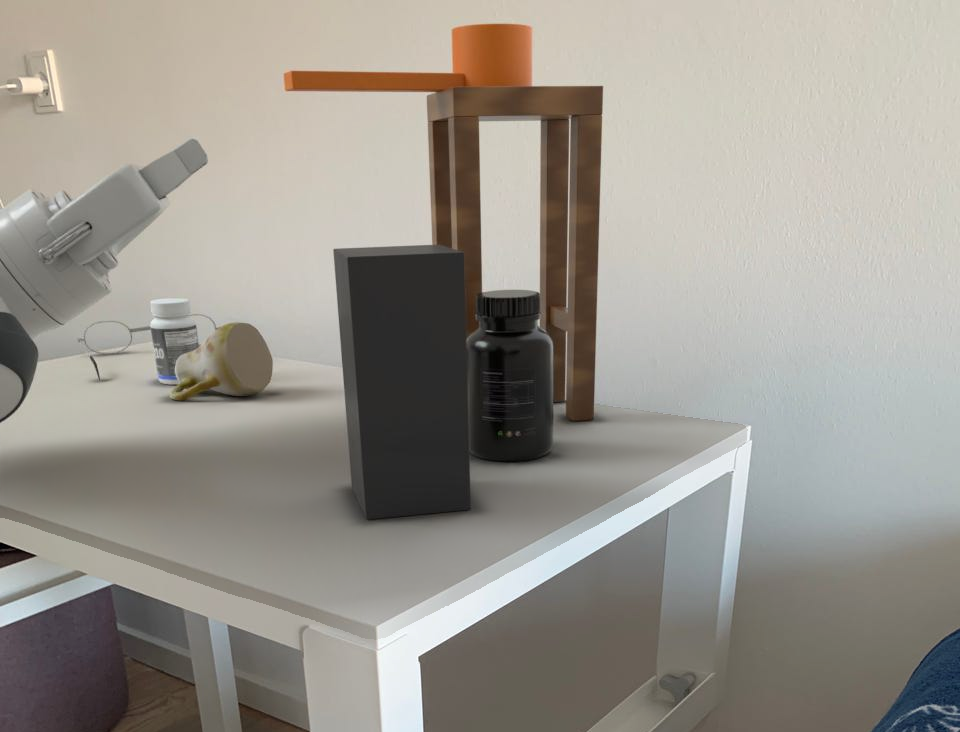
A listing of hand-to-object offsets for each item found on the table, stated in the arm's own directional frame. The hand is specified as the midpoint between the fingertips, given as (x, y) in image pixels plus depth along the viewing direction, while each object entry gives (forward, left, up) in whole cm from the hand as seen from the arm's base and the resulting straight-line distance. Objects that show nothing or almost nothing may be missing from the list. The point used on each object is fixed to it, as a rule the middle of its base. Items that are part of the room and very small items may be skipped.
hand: (203, 149), depth 77 cm
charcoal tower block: (+11, -23, -22) cm, 33 cm away
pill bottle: (-5, +27, -22) cm, 36 cm away
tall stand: (+25, 0, -22) cm, 33 cm away
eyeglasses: (-7, +41, -22) cm, 48 cm away
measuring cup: (+17, 0, +4) cm, 17 cm away
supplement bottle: (+21, -13, -22) cm, 33 cm away
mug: (-1, +18, -22) cm, 29 cm away
